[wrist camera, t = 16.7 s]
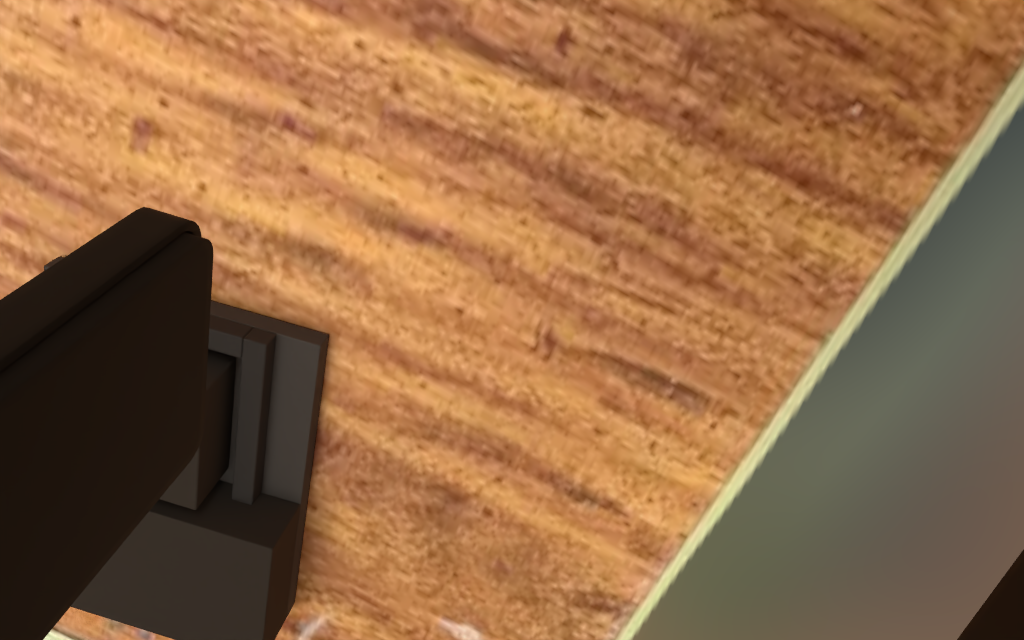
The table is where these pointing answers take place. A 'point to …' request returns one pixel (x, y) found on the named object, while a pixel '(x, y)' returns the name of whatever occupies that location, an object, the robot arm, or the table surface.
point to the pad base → (230, 502)
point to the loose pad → (209, 437)
